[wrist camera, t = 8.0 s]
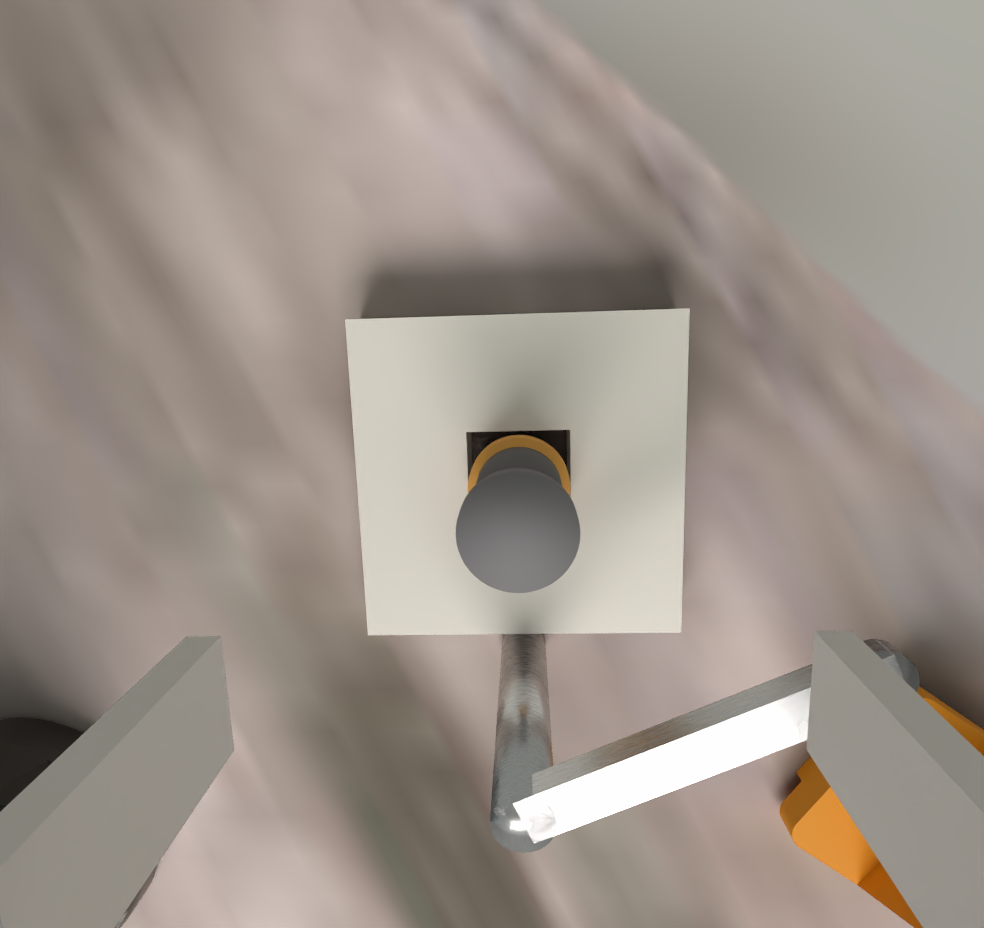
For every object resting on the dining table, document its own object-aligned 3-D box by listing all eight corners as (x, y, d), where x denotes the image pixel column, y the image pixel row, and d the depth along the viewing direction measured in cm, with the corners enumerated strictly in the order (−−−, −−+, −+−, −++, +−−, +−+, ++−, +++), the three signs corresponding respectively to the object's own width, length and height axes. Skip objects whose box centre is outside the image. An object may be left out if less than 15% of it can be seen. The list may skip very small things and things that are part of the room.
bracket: (891, 665, 38) (1054, 818, 27) (992, 734, 39) (1196, 914, 27) (767, 803, 40) (866, 1002, 29) (865, 867, 41) (1001, 1088, 29)
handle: (494, 634, 39) (478, 808, 25) (763, 520, 37) (906, 641, 23) (513, 671, 39) (507, 861, 25) (779, 559, 37) (929, 701, 23)
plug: (476, 512, 37) (455, 596, 26) (472, 424, 36) (449, 472, 25) (565, 511, 37) (583, 594, 26) (564, 422, 36) (582, 469, 25)
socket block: (379, 611, 39) (368, 635, 36) (359, 319, 36) (345, 319, 33) (669, 608, 38) (681, 632, 35) (675, 309, 35) (689, 308, 32)
